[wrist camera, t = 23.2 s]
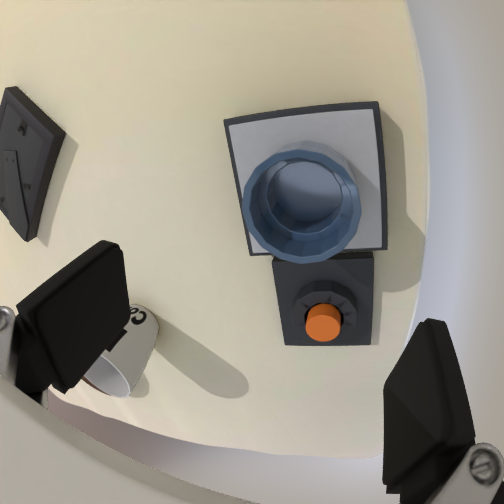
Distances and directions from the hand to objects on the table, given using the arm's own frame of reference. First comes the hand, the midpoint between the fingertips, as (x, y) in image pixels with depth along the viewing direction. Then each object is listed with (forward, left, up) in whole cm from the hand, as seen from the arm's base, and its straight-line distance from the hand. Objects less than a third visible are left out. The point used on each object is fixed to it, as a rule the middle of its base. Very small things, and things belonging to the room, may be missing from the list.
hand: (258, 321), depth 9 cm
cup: (+22, -17, -18) cm, 33 cm away
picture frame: (+3, -37, -18) cm, 42 cm away
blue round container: (0, 0, -15) cm, 15 cm away
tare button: (+11, +4, -16) cm, 20 cm away
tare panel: (+11, +4, -18) cm, 22 cm away
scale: (0, 0, -18) cm, 18 cm away
